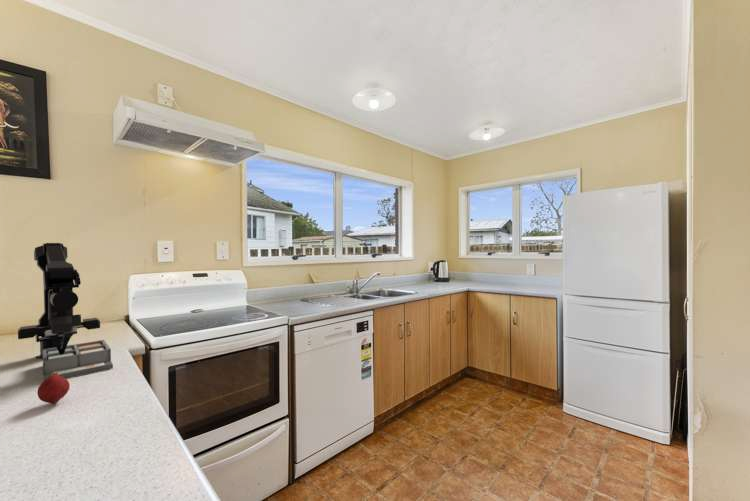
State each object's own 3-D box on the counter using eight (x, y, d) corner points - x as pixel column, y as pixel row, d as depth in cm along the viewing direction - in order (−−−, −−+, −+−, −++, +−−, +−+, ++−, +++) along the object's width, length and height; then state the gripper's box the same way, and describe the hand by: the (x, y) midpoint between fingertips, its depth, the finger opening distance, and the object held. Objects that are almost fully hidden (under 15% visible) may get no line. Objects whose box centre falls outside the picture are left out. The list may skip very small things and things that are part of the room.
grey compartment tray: (42, 365, 111) (42, 349, 111) (104, 354, 122) (104, 339, 122) (43, 383, 97) (43, 364, 97) (112, 368, 108) (112, 351, 108)
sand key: (80, 356, 111) (80, 351, 111) (103, 351, 115) (103, 347, 115) (81, 360, 107) (81, 355, 107) (105, 355, 111) (105, 351, 111)
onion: (49, 410, 81) (48, 377, 81) (31, 408, 82) (30, 376, 82) (75, 399, 86) (74, 369, 86) (58, 397, 88) (57, 367, 87)
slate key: (47, 356, 111) (47, 351, 111) (72, 352, 115) (72, 347, 115) (48, 360, 107) (48, 356, 106) (73, 356, 111) (73, 351, 111)
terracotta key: (78, 351, 116) (78, 346, 116) (100, 347, 120) (100, 343, 120) (79, 355, 112) (79, 350, 112) (102, 350, 116) (102, 346, 116)
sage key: (48, 361, 105) (48, 357, 105) (73, 357, 110) (73, 352, 110) (48, 366, 101) (48, 361, 101) (75, 361, 106) (75, 357, 105)
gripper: (16, 313, 93) (17, 368, 93) (102, 305, 106) (102, 353, 107) (18, 308, 101) (19, 359, 101) (97, 301, 114) (98, 346, 114)
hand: (61, 354), depth 105 cm, fingers closed
